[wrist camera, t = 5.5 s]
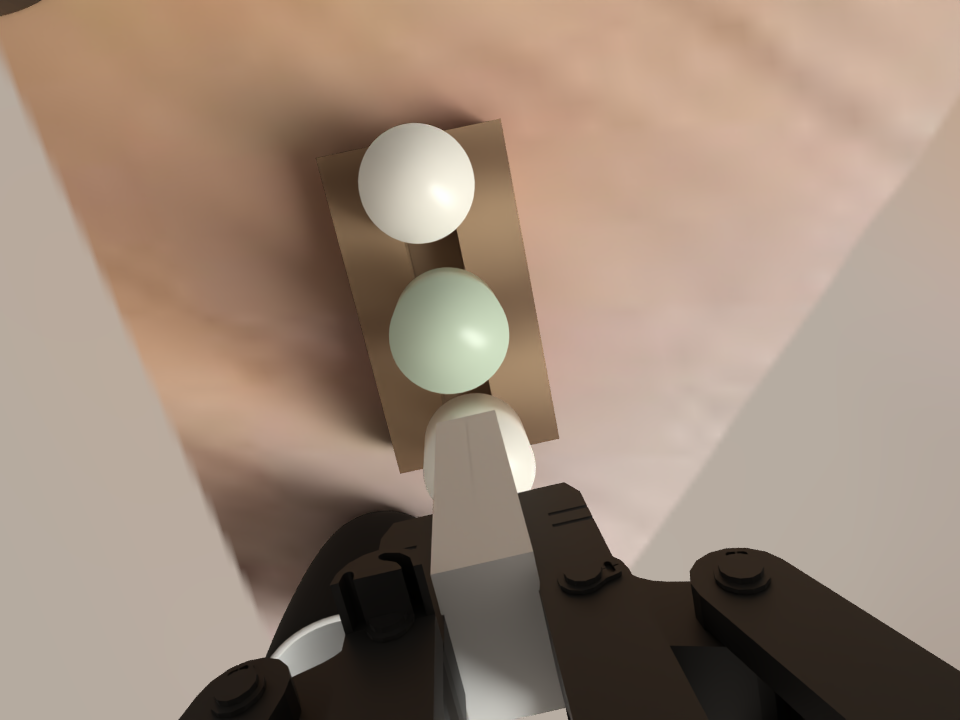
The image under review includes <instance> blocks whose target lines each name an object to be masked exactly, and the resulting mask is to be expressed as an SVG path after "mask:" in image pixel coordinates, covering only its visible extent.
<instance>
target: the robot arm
mask: <svg viewBox="0 0 960 720" xmlns="http://www.w3.org/2000/svg"><path fill="white" fill-rule="evenodd" d="M39 1H41V0H0V16H2V15H6V14H10V13H13V12H16V11H19V10H22V9H24V8H27V7H29V6H31V5H33V4H35V3H37V2H39ZM330 588H331V591H332V594H333V597H334V601H335V604H336V607H337V610H338V613H339V616H340V620H341V623H342V626H343V629H344V632H345V638H344V642H343V647H342V651H341V652H339V653H338V654H337V655H335V656H334V657H332V658H330V659H328V660H327V661H325V662H323V663H321V664H319V665H317V666H315V667H313V668H310V669H308V670H306V671H304V672H302V673H300V674H297V675H295V676H293V677H292V676H291V673H290V670H289V667H288V666H287V665H286V664H285V663H284V662H282V661H281V660H280V659H274V658H266V657H265V658H260V659H256V660H250V661H247V662H245V663H241V664H239V665H238V666H237V665H236V666H234V667H232V668H230V669H229V670H227V671H226V672H224V673H223V674H221V675H220V676H219V677H217V678H216V679H214V680H213V681H212V682H210V683H209V684H208V685H207V686H206V687H205V688H204V689H203V690H202V692H201V693H200V694H199V695H198V696H197V697H196V698H195V699H194V701H193V702H192V703H191V704H190V706H189V707H188V708H187V710H186V711H185V712H184V714H183V715H182V716H181V717H180V719H179V720H467V716H466V709H467V713H468V717H469V720H514V719H518V718H523V717H527V716H532V715H536V714H540V713H544V712H549V711H553V710H558V709H562V708H566V712H567V716H568V720H960V671H959V670H957V669H955V668H954V667H953V666H951V665H949V664H948V663H946V662H945V661H943V660H941V659H940V658H938V657H937V656H935V655H934V654H932V653H930V652H929V651H927V650H926V649H924V648H922V647H921V646H919V645H918V644H916V643H915V642H913V641H911V640H910V639H908V638H907V637H905V636H903V635H902V634H900V633H899V632H897V631H895V630H894V629H892V628H890V627H889V626H888V625H886V624H884V623H883V622H881V621H880V620H878V619H876V618H875V617H873V616H872V615H870V614H869V613H867V612H865V611H864V610H862V609H861V608H859V607H857V606H856V605H854V604H852V603H851V602H850V601H848V600H846V599H845V598H843V597H842V596H840V595H838V594H837V593H835V592H833V591H832V590H831V589H829V588H827V587H826V586H824V585H822V584H821V583H819V582H818V581H816V580H815V579H813V578H811V577H810V576H808V575H807V574H805V573H803V572H802V571H800V570H799V569H797V568H796V567H794V566H792V565H791V564H789V563H788V562H786V561H784V560H783V559H781V558H779V557H776V556H774V555H772V554H770V553H768V552H765V551H759V550H754V549H749V548H728V549H727V548H726V549H722V550H719V551H715V552H711V553H708V554H707V555H705V556H704V557H702V558H700V559H698V560H697V561H696V562H695V564H694V565H693V567H692V569H691V570H690V582H663V581H651V580H647V579H642V578H639V577H636V576H634V575H632V574H631V572H630V570H629V568H628V567H627V566H626V565H625V564H624V563H623V562H622V561H621V560H619V559H617V558H615V557H613V556H612V554H611V552H610V550H609V549H608V547H607V545H606V543H605V541H604V539H603V537H602V535H601V533H600V531H599V529H598V527H597V525H596V523H595V521H594V519H593V518H592V515H591V513H590V511H589V509H588V507H587V505H586V503H585V501H584V499H583V497H582V495H581V493H580V491H578V490H577V489H575V488H573V487H571V486H570V485H568V484H566V483H564V482H563V483H559V484H555V485H550V486H546V487H541V488H537V489H533V490H528V491H524V492H519V493H517V490H516V486H515V482H514V479H513V475H512V471H511V468H510V464H509V460H508V456H507V453H506V449H505V445H504V442H503V438H502V434H501V431H500V427H499V423H498V419H497V416H496V412H495V410H492V411H488V412H483V413H479V414H474V415H470V416H465V417H461V418H457V419H452V420H448V421H443V422H439V423H436V441H435V468H434V494H433V514H431V515H427V516H423V517H418V518H414V519H410V520H405V521H401V522H396V523H393V525H392V526H391V527H390V528H389V530H388V531H387V532H386V533H385V535H384V536H383V537H382V538H381V542H380V547H379V550H377V551H374V552H371V553H368V554H365V555H363V556H361V557H359V558H357V559H355V560H354V561H352V562H350V563H348V564H347V565H346V566H345V567H344V568H343V569H341V570H340V571H339V572H338V573H337V574H336V575H335V577H334V579H333V580H332V582H331V584H330Z"/></svg>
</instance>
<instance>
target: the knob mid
mask: <svg viewBox="0 0 960 720" xmlns="http://www.w3.org/2000/svg"><path fill="white" fill-rule="evenodd" d="M389 343H390V349H391V352H392V355H393V358H394V360H395V362H396V364H397V366H398V367H399V369H400V370H401V371H402V372H403V374H404V375H405V376H406V377H407V378H408V379H409V380H411V381H412V382H413V383H415V384H416V385H418V386H420V387H422V388H424V389H426V390H429V391H431V392H436V393H442V394H456V393H462V392H466V391H469V390H472V389H474V388H477V387H478V386H480V385H482V384H483V383H485V382H486V381H487V380H489V379H490V378H491V377H492V376H493V375H494V374H495V372H496V371H497V370H498V369H499V367H500V365H501V364H502V362H503V360H504V358H505V355H506V352H507V349H508V344H509V327H508V322H507V318H506V315H505V313H504V310H503V308H502V307H501V305H500V303H499V302H498V300H497V298H496V297H495V295H494V293H493V292H492V290H491V289H490V288H489V286H488V285H487V284H486V283H485V282H484V281H483V280H482V279H480V278H479V277H478V276H476V275H474V274H473V273H471V272H468V271H466V270H463V269H459V268H452V267H443V268H436V269H433V270H429V271H427V272H425V273H422V274H421V275H419V276H417V277H416V278H415V279H414V280H412V281H411V282H410V283H409V284H408V285H407V286H406V288H405V289H404V290H403V292H402V294H401V295H400V297H399V300H398V302H397V305H396V308H395V310H394V313H393V316H392V319H391V323H390V327H389Z"/></svg>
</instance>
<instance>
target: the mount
mask: <svg viewBox="0 0 960 720" xmlns="http://www.w3.org/2000/svg"><path fill="white" fill-rule="evenodd" d="M445 132H446V133H448V134H449V135H450V136H452V137H453V138H454V139H455V140H456V141H457V142H458V143H459V144H460V145H461V147H462V148H463V149H464V151H465V152H466V154H467V156H468V158H469V160H470V163H471V165H472V169H473V173H474V180H475V189H474V197H473V201H472V205H471V207H470V210H469V212H468V214H467V216H466V217H465V219H464V220H463V222H462V223H461V224H460V225H459V226H458V227H457V228H456V229H455V230H454V231H453V232H452V233H450V234H449V235H447V236H445V237H444V238H442V239H439V240H437V241H434V242H430V243H423V244H413V243H406V242H403V241H399V240H397V239H394V238H392V237H390V236H389V235H387V234H385V233H384V232H383V231H381V230H380V229H379V228H378V227H377V226H376V225H375V224H374V223H373V222H372V220H371V219H370V218H369V216H368V214H367V213H366V211H365V209H364V207H363V205H362V201H361V198H360V194H359V187H358V176H359V169H360V165H361V162H362V159H363V157H364V155H365V153H366V151H367V149H368V148H369V147H365V148H361V149H356V150H351V151H346V152H342V153H337V154H332V155H328V156H323V157H318V158H316V161H317V164H318V168H319V172H320V175H321V179H322V183H323V187H324V190H325V194H326V198H327V202H328V205H329V209H330V213H331V217H332V220H333V224H334V228H335V232H336V235H337V239H338V243H339V247H340V250H341V254H342V258H343V261H344V265H345V269H346V273H347V276H348V280H349V284H350V288H351V291H352V295H353V299H354V303H355V306H356V310H357V314H358V318H359V321H360V325H361V329H362V332H363V336H364V340H365V344H366V347H367V351H368V355H369V359H370V362H371V366H372V370H373V374H374V377H375V381H376V385H377V389H378V392H379V396H380V400H381V404H382V407H383V411H384V415H385V418H386V422H387V426H388V430H389V433H390V437H391V441H392V445H393V448H394V452H395V456H396V460H397V463H398V467H399V471H400V474H401V473H405V472H410V471H414V470H419V469H423V467H424V445H425V433H426V429H427V426H428V423H429V421H430V419H431V418H432V416H433V415H434V413H435V412H436V411H437V410H438V409H439V408H440V407H441V406H442V405H443V404H445V403H446V402H447V401H449V400H451V399H453V398H455V397H457V396H461V395H464V394H470V393H481V394H488V395H492V396H494V397H497V398H499V399H501V400H503V401H504V402H506V403H507V404H508V405H510V406H511V407H512V408H513V409H514V411H515V412H516V413H517V415H518V416H519V418H520V420H521V422H522V425H523V427H524V430H525V433H526V435H527V438H528V440H529V443H530V445H532V444H537V443H541V442H546V441H550V440H555V439H559V435H558V429H557V424H556V418H555V413H554V407H553V402H552V397H551V391H550V386H549V380H548V375H547V369H546V364H545V358H544V353H543V348H542V342H541V337H540V331H539V326H538V320H537V315H536V309H535V304H534V298H533V293H532V288H531V282H530V277H529V271H528V266H527V260H526V255H525V249H524V244H523V238H522V233H521V228H520V222H519V217H518V211H517V206H516V200H515V195H514V189H513V184H512V179H511V173H510V168H509V162H508V157H507V151H506V146H505V140H504V135H503V129H502V124H501V119H497V120H492V121H487V122H483V123H478V124H473V125H469V126H464V127H459V128H454V129H450V130H445ZM443 267H452V268H459V269H463V270H466V271H468V272H471V273H473V274H474V275H476V276H478V277H479V278H480V279H482V280H483V281H484V282H485V283H486V284H487V285H488V286H489V288H490V289H491V290H492V292H493V293H494V295H495V297H496V298H497V300H498V302H499V303H500V305H501V307H502V308H503V310H504V313H505V315H506V318H507V322H508V327H509V344H508V349H507V352H506V355H505V358H504V360H503V362H502V364H501V365H500V367H499V369H498V370H497V371H496V372H495V374H494V375H493V376H492V377H491V378H490V379H489V380H487V381H486V382H485V383H483V384H482V385H480V386H478V387H477V388H474V389H472V390H469V391H466V392H462V393H456V394H442V393H436V392H431V391H429V390H426V389H424V388H422V387H420V386H418V385H416V384H415V383H413V382H412V381H411V380H409V379H408V378H407V377H406V376H405V375H404V374H403V372H402V371H401V370H400V369H399V367H398V366H397V364H396V362H395V360H394V358H393V355H392V352H391V349H390V343H389V327H390V323H391V319H392V316H393V313H394V310H395V308H396V305H397V302H398V300H399V297H400V295H401V294H402V292H403V290H404V289H405V288H406V286H407V285H408V284H409V283H410V282H411V281H412V280H414V279H415V278H416V277H417V276H419V275H421V274H422V273H425V272H427V271H429V270H433V269H436V268H443Z"/></svg>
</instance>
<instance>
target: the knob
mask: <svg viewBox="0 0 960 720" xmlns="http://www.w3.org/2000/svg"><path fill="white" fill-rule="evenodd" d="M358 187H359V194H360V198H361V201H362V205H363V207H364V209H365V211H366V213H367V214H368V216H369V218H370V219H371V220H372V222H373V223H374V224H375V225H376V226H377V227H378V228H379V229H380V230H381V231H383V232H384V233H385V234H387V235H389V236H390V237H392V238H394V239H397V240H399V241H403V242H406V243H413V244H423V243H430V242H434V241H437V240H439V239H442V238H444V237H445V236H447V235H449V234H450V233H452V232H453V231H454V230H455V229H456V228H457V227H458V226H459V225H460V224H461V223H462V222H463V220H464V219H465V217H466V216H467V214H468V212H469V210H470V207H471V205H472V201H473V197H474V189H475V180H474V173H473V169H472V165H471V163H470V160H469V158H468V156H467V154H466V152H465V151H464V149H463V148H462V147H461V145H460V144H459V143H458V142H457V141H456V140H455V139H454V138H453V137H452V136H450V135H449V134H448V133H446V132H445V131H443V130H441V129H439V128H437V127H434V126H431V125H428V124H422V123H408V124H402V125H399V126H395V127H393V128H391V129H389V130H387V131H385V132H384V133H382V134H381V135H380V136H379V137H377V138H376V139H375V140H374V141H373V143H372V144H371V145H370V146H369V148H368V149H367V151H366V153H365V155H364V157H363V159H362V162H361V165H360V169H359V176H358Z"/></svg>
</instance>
